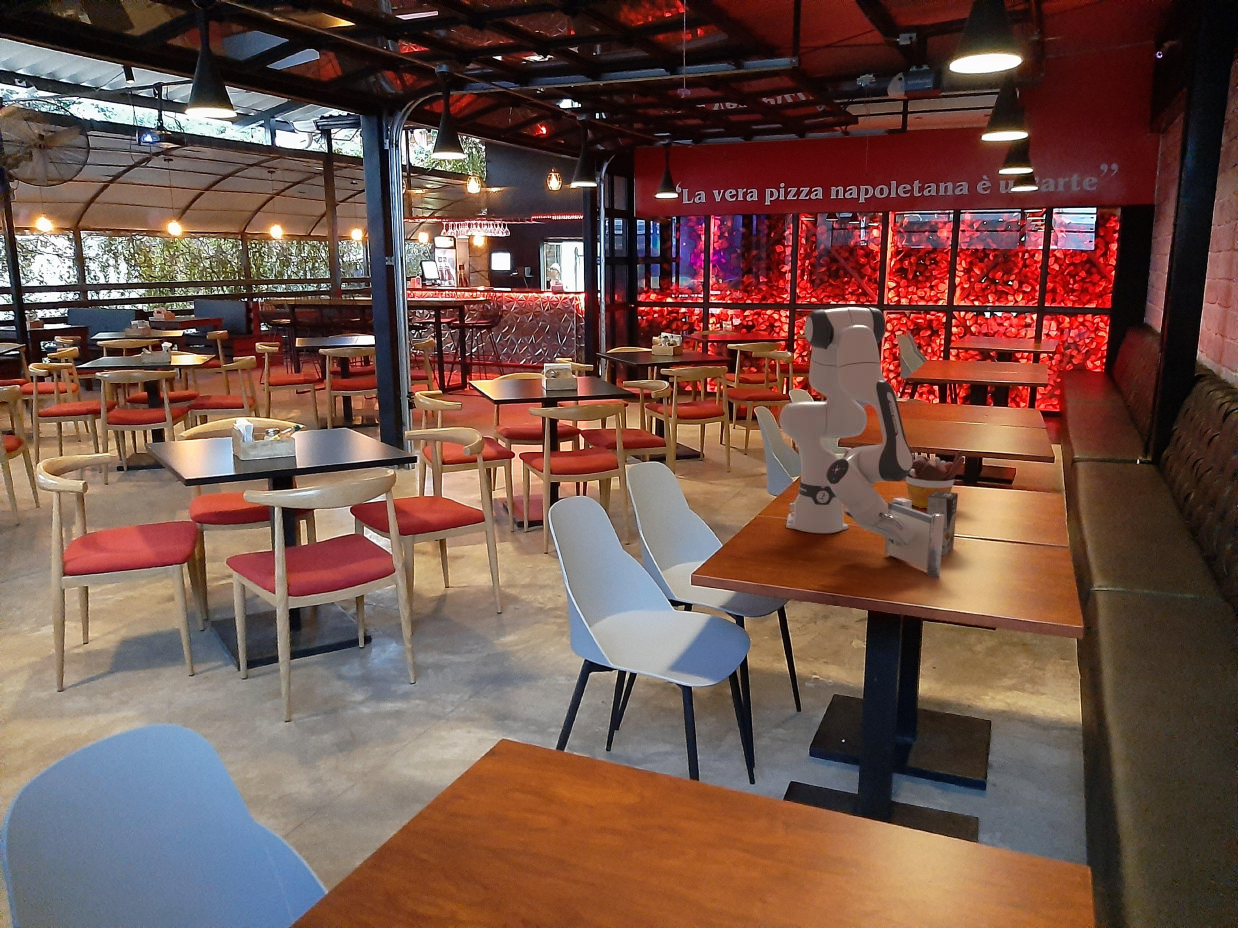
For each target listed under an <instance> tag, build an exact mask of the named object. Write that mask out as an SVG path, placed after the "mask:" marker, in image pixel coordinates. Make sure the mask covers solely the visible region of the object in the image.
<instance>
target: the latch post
mask: <svg viewBox="0 0 1238 928" xmlns="http://www.w3.org/2000/svg"><path fill="white" fill-rule="evenodd" d="M892 502H893V503H896V504H899V505H902V506H905V507H908V508H911V509H912V507H913V506H912V501H911V500H909V499H907V498H904V497H895V498H893V499H892ZM888 556H890V557H892V558H894V559H895V558H896V559H897V560H900V559H899V558H897V557H894V556H892V555H890V554H888Z"/></svg>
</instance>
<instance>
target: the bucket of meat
mask: <svg viewBox="0 0 1238 928" xmlns="http://www.w3.org/2000/svg"><path fill="white" fill-rule="evenodd" d="M911 453H912V456H913V467H912V469H911V471H910V473H909V474H908V476H907V477H906V478H905V481H906V487H907V488H906V489H907V494H908V500H911V501H912V505H914V506H916V507H921V508H926V509H925V510H927V509H928V496H929V495H931V494H932V493H934V492H935V491H940V492H951V493H952V489H953V486H954V484H955V479H956V478H955V477H956V475H957V472H958V471H959V469H961V467H962V465H963V464H964V463H965V461H966V459H965V457H964V451H963V450H958V451H957V452H956V455H955V456H954V460H953V462H952V461H945V460H941V458H940V457H939V456H938V457H937V456H936V457H934V459H931V458H930V457H927V456H926V455H922V454H918V455H917V456H916V455H915V453H914V452H911ZM915 456H916V457H915ZM914 458H915V459H914ZM914 506H913V507H914ZM916 507H915V508H916ZM921 508H920V509H921Z"/></svg>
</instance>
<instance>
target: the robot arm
mask: <svg viewBox="0 0 1238 928" xmlns="http://www.w3.org/2000/svg"><path fill="white" fill-rule="evenodd" d="M886 326H887V325H886V318H885V315H884V313H883V312H882V310H880V309H878V308H876V307H869V306H868V307H859V306H858V307H857V306H844V307H836V308H835V307H834V308H829V309H828V308H827V309H823V308H821V309H816V310H813V311H811V312H809V314H808V315H807V316H806V318H805V322H804V329H803V331H804V335H805V339H806V340H805V341H806V342H807V343H808V344H809V345H810V346H811V347H812V349H811V355H810V364H809V372H808V383H809V384H810V386H811V388H813V390H814V391H816V392H817V393H820V394H821V395H824V396H825V397H826V400H823V401H821V400H820V401H819V400H817V401H812V400H809V401H808V400H805V401H804V400H801V401H796V402H794V401H793V402H790V403H786V404H785V405H784V407H782V410H781V412H780V414H779V426H780V428H781V430H782V432H783V434H785V435H786V436H787V437H789V439H791V440H792V441H793V443H794V444H795V446H796V448H797V449H798V452H799V456H800V465H801V472H800V473H801V476H800V477H801V479H800V480H801V481H799V486H798V495H797V496H796V499H795V500H794V502H791V503H789V511H791V513H788V515H787V518H786V524H785V525H786V526H785V527H786V528H787V529H794V530H798V531H801V532H807V533H812V534H832V533H834V534H835V533H837V532H840V531H843V530H847V529H849V524H847V523H845V522H844V514H845V515H846V516H847V517H850V518H851V519H852V520H853V521H854V522H855V523H856V524H857V525H858V527H860V528H862V529H865V530H867V531H869V532H872V533H873V534H874V533H875V534H878V535H879V536H882V537H883V538H884V539H885V540H886V539H887V540H888V541H889V542H890V543H891V544H895V545H896V546H899V547H900V546H901V545H902V544H904V545H908V544H909V543H910V542H911V541H912V540H913V538H914V537H915V534H914V533H913V531H912V530H911V529H910V528H909V527H908V526H907V525H906V524H905V523H904V522H903V521H902V520H901V519H900V518H898V517H896V516H893V515H891V514H888V503H887V502H886V501H885V499H884V498H883V497H882V496H881V494H880V493H879V492H878V491H877V490H876V489H875V488H874V485H875V483H879V482H880V483H881V482H902V481H904V480H906V477H907V476H908V474H909V473H910V471H911V469H912V467H913V460H914V459H913V456H912V453H913V452H912V451H911V449H910V446H909V444H908V441H907V438H906V433H905V429H904V425H903V420H902V417H901V412H900V407H899V403H898V399H897V396H896V393H895V390H894V388H893V386H892V385H891V383H890V382H889V381H886V380H885V378H884V375H883V373H882V372H883V371H882V369H881V361H880V351H879V348H878V347H879V346H878V344H879V343H880V342H881V341H882V340H883V338H884V337H885V334H886ZM857 401H858V402H859V401H860V402H862V403H867V404H868V405H870V406H871V407H873V408H874V410H875V411H876V414H877V418H878V422H879V427H880V431H881V435H882V442H881V443H880V444H874V445H872V444H871V445H863V446H856V447H853V448H851V449H849V450H848V451H847V452H846V453H845V455H844V457H843V458H840V459H839V457H838V455H837V453H835V452H834V451H831V450H830V449H828V448H825V447H824V446H822V444H821V439H847V438H853V437H857V436H860V435H862V433H863V432H864V430H865V429H866V426H867V422H868V415H867V412H866V410H865V409H864V407H863V406H862V405H861V404H860V403H858V402H857ZM844 506H846V507H844Z"/></svg>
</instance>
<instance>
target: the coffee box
mask: <svg viewBox="0 0 1238 928" xmlns="http://www.w3.org/2000/svg"><path fill="white" fill-rule="evenodd" d="M958 493H959V492H958ZM958 493H957V492H952V491H951V492H940V491H935V492H934V493H932V494H931V495H929V496H928V509H926V510H927V513H926V514H928V515H931V516H932V514H935V513H936V514H943V515H944V526H943V539H942V551H941V556H947V555H948V554H949V553H950V552H951V551H952V550H953V549H954V544H955V532H956V521H957V509H958V500H959V499H958V497H959V494H958Z"/></svg>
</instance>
